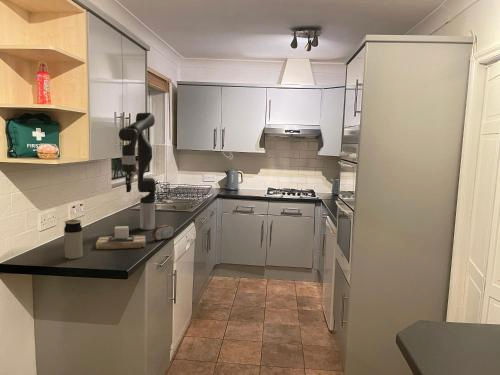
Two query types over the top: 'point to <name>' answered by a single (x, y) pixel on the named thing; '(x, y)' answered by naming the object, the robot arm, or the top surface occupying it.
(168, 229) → the tin
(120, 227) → the white block
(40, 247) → the top surface
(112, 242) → the loading dock
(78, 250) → the travel mug
